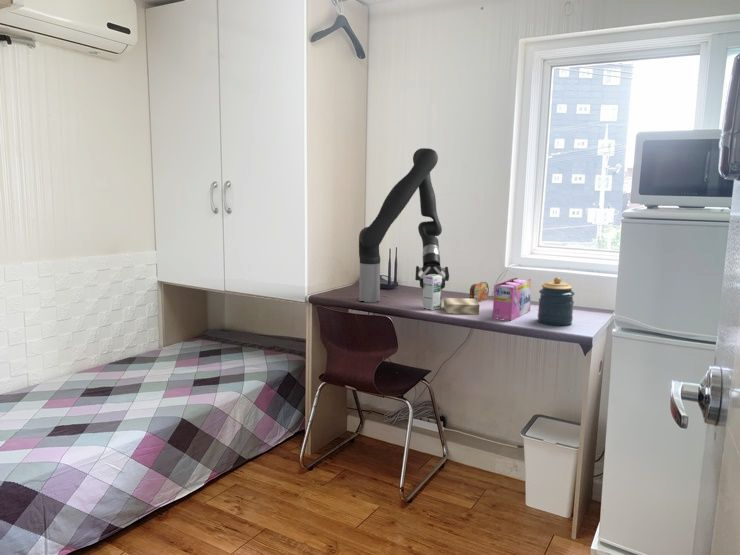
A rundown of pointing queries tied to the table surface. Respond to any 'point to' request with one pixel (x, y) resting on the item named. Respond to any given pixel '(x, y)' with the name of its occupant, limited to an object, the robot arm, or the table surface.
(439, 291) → the syrup box
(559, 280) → the canister
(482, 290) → the tin
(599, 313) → the table surface
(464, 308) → the birch plinth
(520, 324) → the table surface
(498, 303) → the gum box
